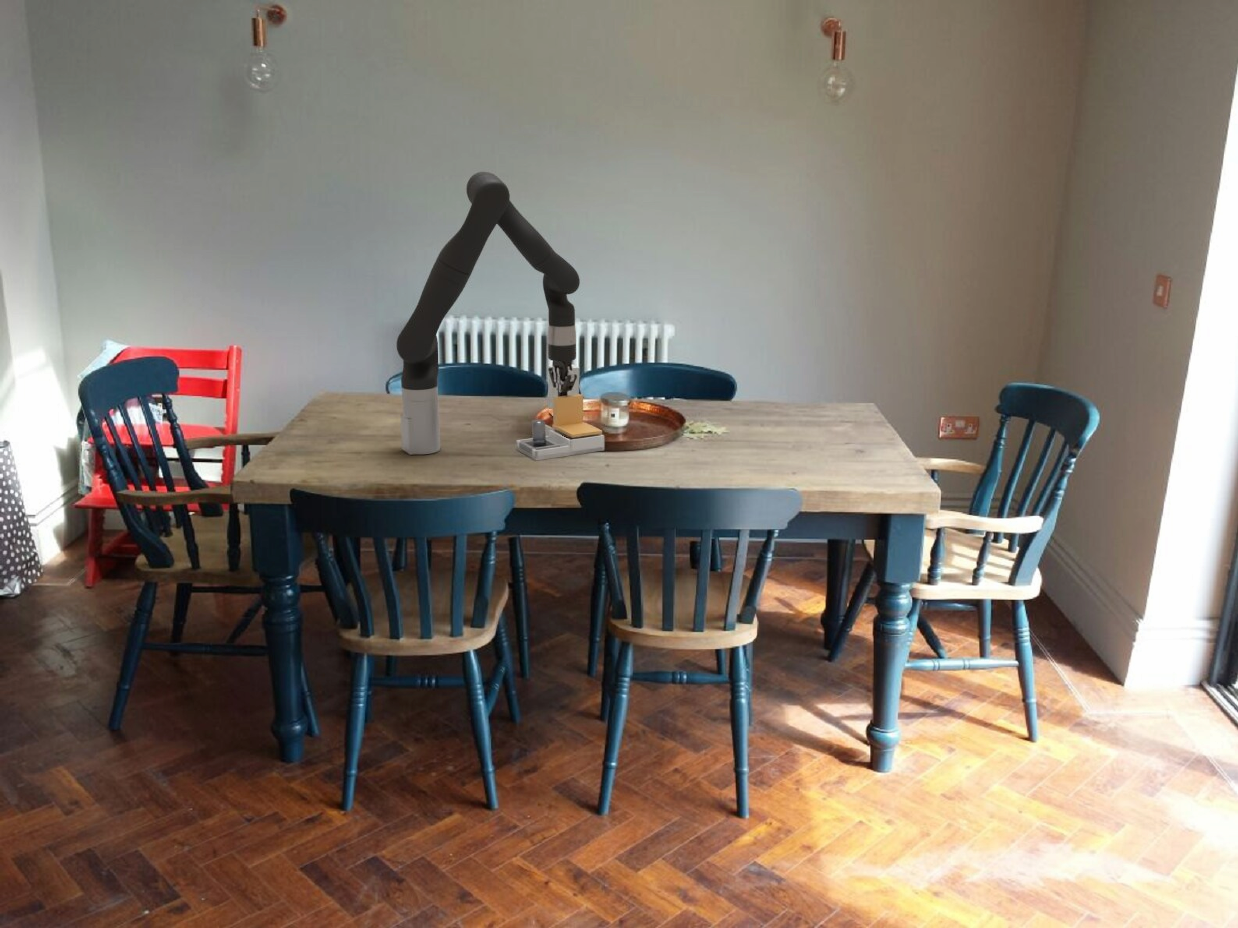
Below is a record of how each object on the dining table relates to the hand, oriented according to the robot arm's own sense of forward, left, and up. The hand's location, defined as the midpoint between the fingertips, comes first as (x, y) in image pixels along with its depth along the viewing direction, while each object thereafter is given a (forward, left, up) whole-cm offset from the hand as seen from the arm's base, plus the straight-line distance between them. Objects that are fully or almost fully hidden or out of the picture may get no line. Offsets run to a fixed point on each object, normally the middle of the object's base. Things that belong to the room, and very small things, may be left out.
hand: (562, 404), depth 307 cm
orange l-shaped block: (0, -8, -5) cm, 10 cm away
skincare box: (+12, +24, -10) cm, 29 cm away
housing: (-6, -6, -10) cm, 12 cm away
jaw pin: (-12, -10, -8) cm, 17 cm away
